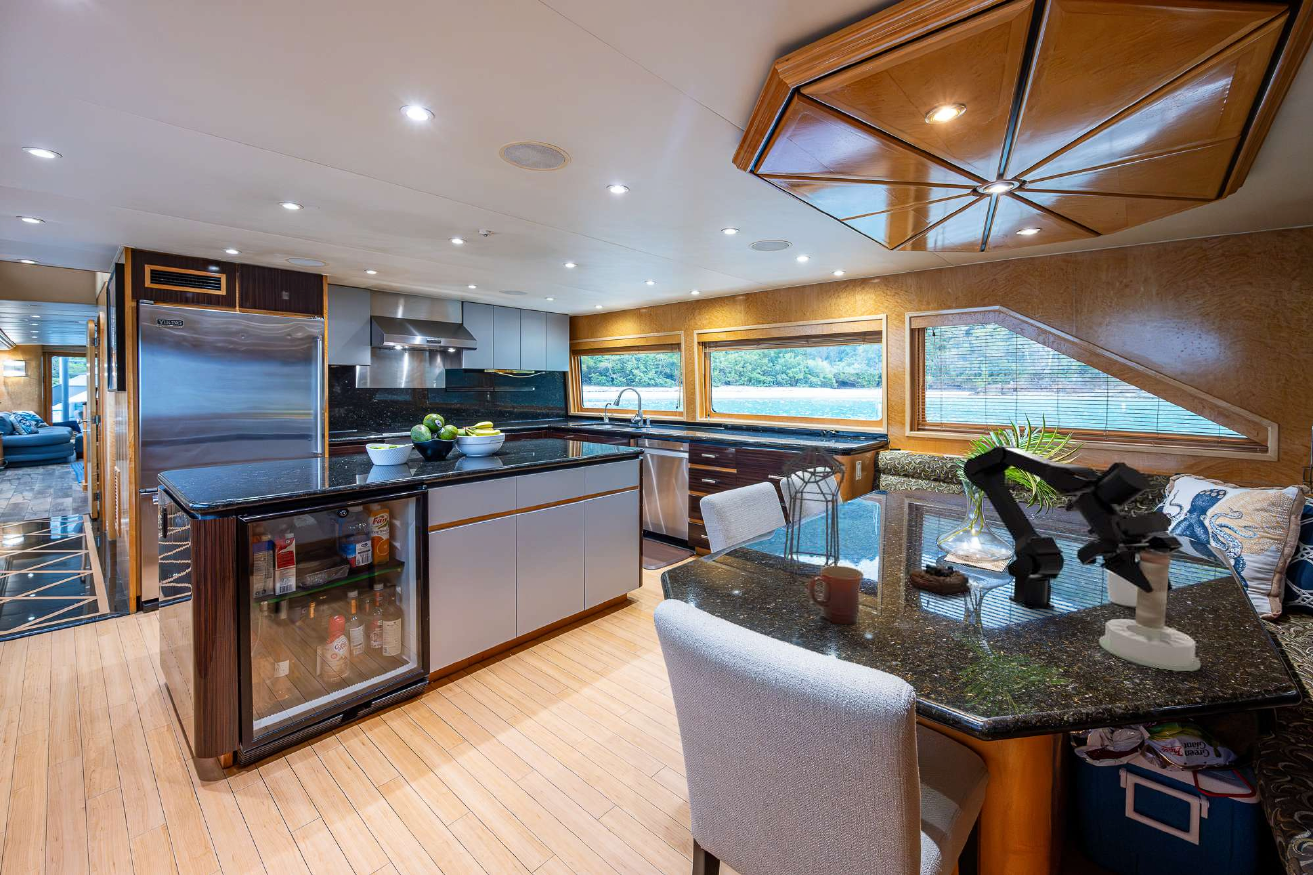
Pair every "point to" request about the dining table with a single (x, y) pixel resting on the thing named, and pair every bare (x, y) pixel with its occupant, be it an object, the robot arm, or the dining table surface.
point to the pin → (1153, 603)
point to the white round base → (1150, 645)
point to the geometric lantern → (813, 473)
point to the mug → (838, 593)
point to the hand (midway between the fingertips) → (1160, 591)
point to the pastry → (940, 580)
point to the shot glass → (1121, 590)
